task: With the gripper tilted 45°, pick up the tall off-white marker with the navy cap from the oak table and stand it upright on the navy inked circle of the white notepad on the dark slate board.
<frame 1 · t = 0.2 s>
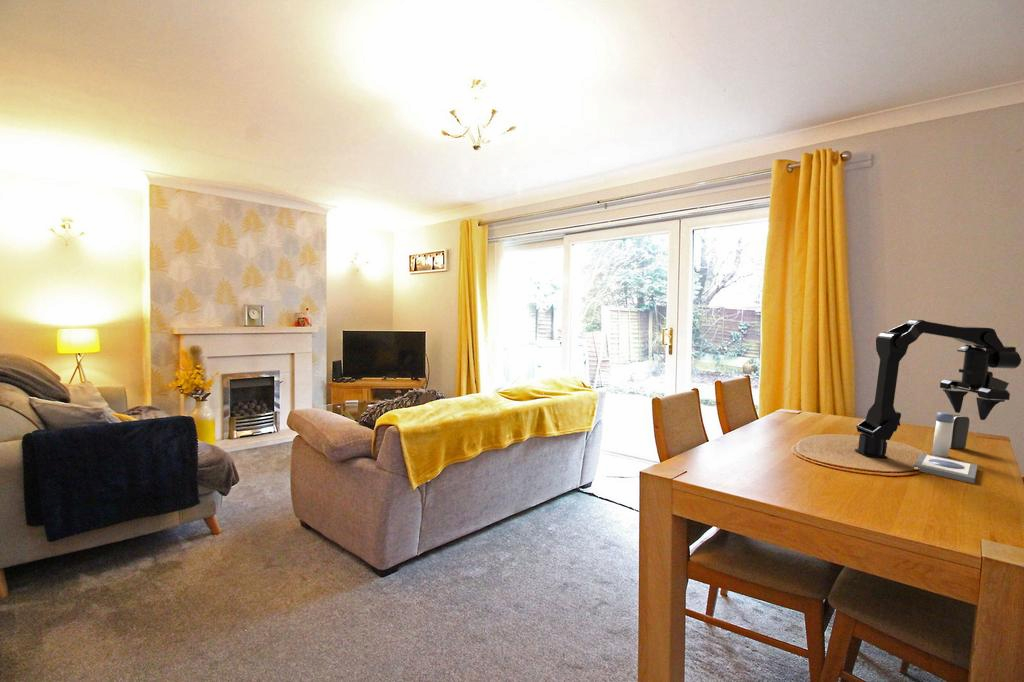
hand: (969, 416, 151), 15 cm above the table, tool pointing down, fingers open, 9 cm apart
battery: (952, 447, 169), on the table
marker: (939, 455, 158), on the table
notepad: (945, 469, 143), on the table
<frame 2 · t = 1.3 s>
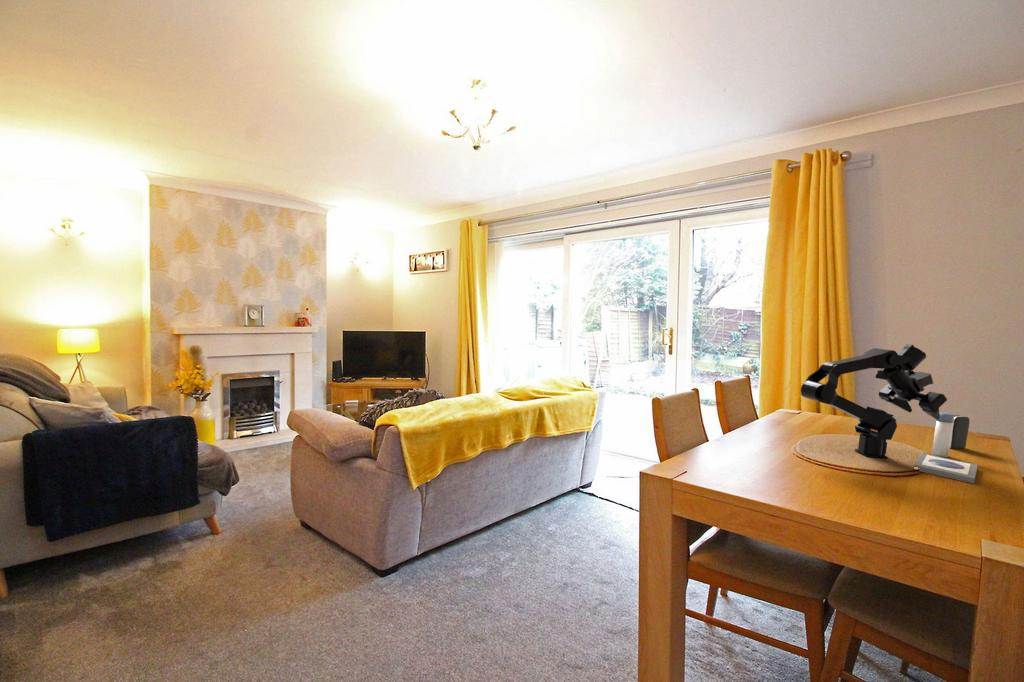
hand: (924, 415, 156), 13 cm above the table, tool tilted 45°, fingers open, 9 cm apart
nothing on the table moved.
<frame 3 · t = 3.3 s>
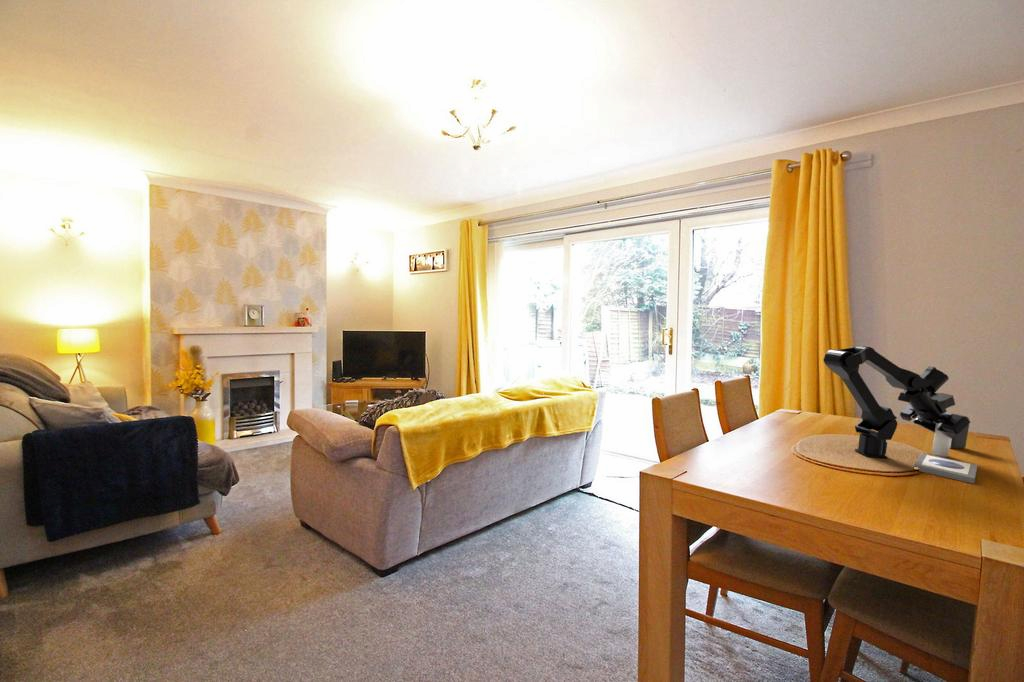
hand: (946, 435, 158), 7 cm above the table, tool tilted 45°, fingers closed on marker, 4 cm apart
marker: (939, 455, 158), on the table, touching gripper
everything else where it was.
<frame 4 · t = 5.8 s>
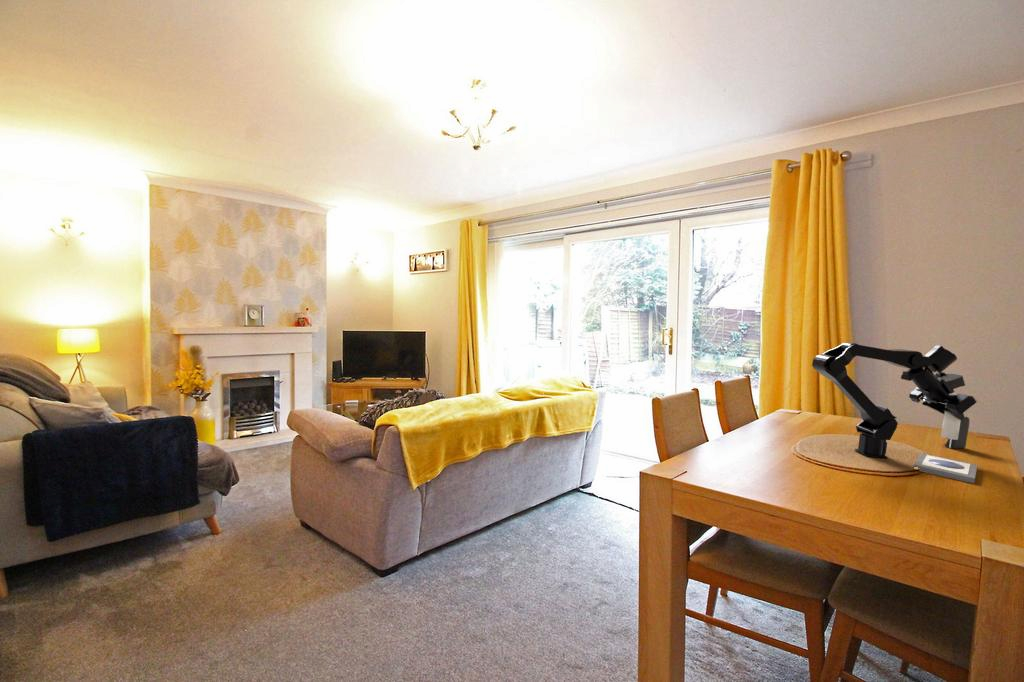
hand: (956, 417, 153), 14 cm above the table, tool tilted 45°, fingers closed on marker, 4 cm apart
marker: (949, 437, 154), point 7 cm above the table, touching gripper
everything else where it was.
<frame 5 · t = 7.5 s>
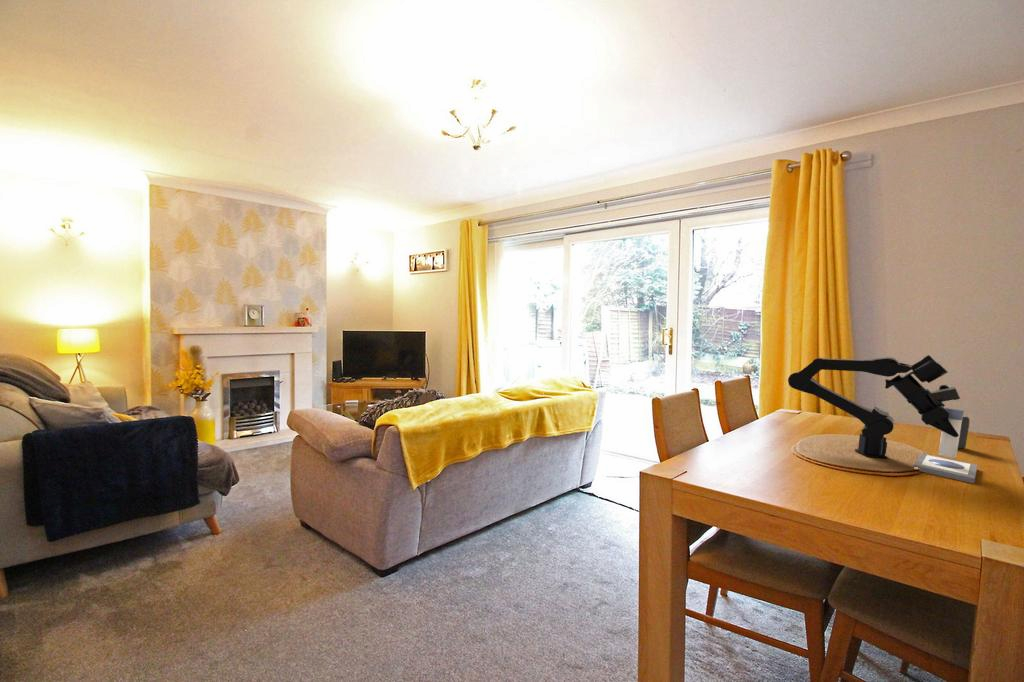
hand: (956, 435, 141), 11 cm above the table, tool tilted 45°, fingers closed on marker, 4 cm apart
marker: (947, 455, 143), point 4 cm above the table, touching gripper
everything else where it was.
when the fingers open (9 cm above the table, at t = 8.6 s): marker stays where it is, resting on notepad.
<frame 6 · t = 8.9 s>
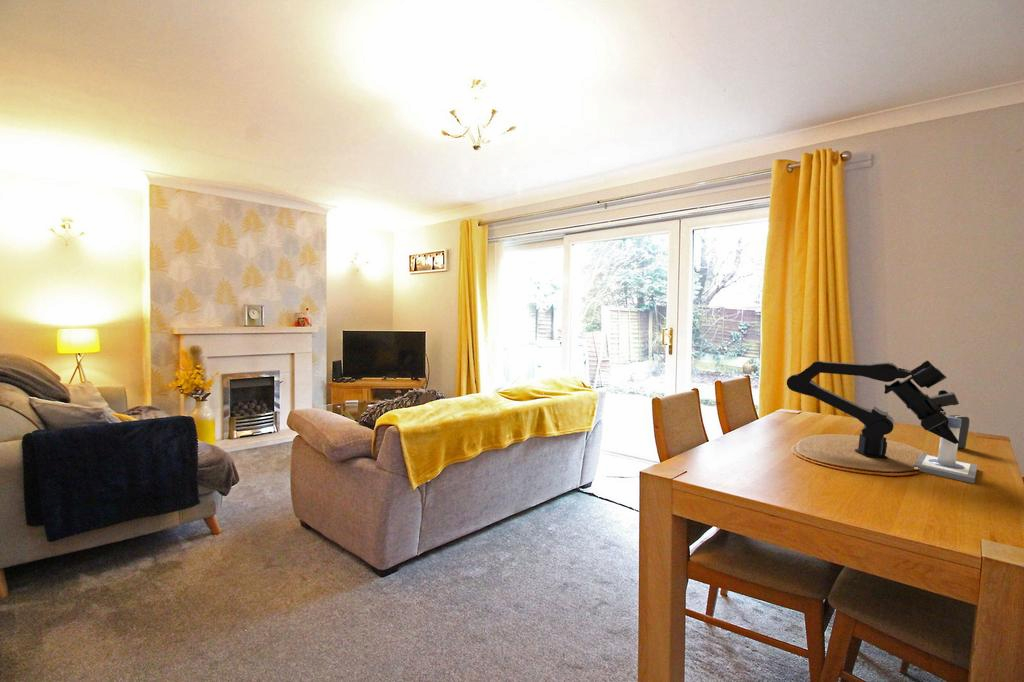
hand: (956, 440, 141), 9 cm above the table, tool tilted 45°, fingers open, 8 cm apart
marker: (946, 463, 143), point 2 cm above the table, touching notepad
everything else where it was.
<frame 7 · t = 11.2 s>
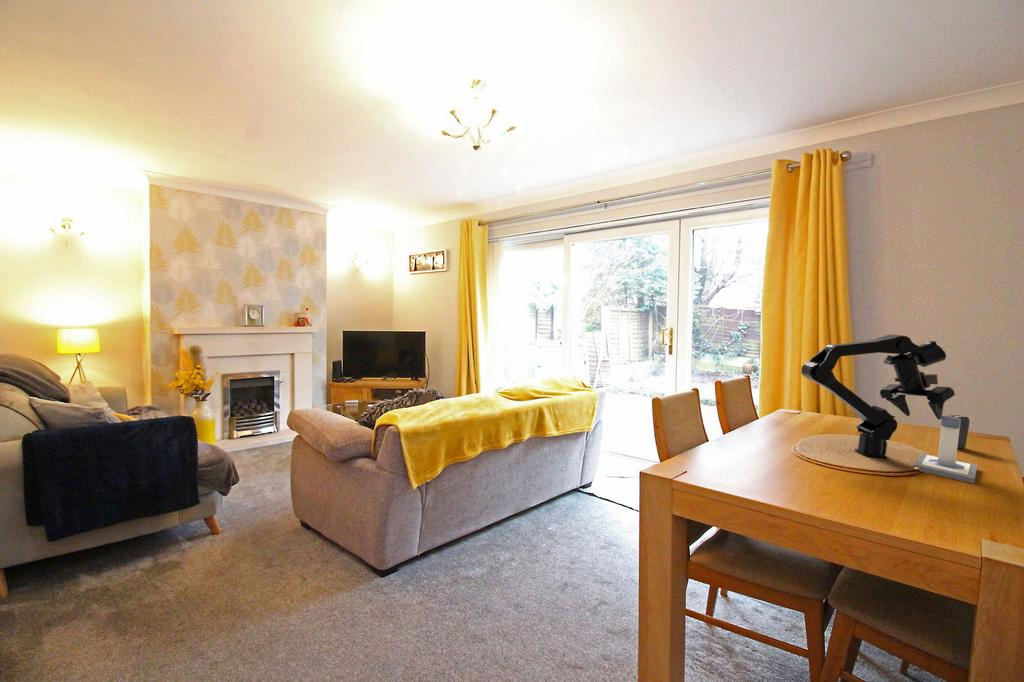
hand: (923, 417, 152), 13 cm above the table, tool tilted 25°, fingers open, 9 cm apart
nothing on the table moved.
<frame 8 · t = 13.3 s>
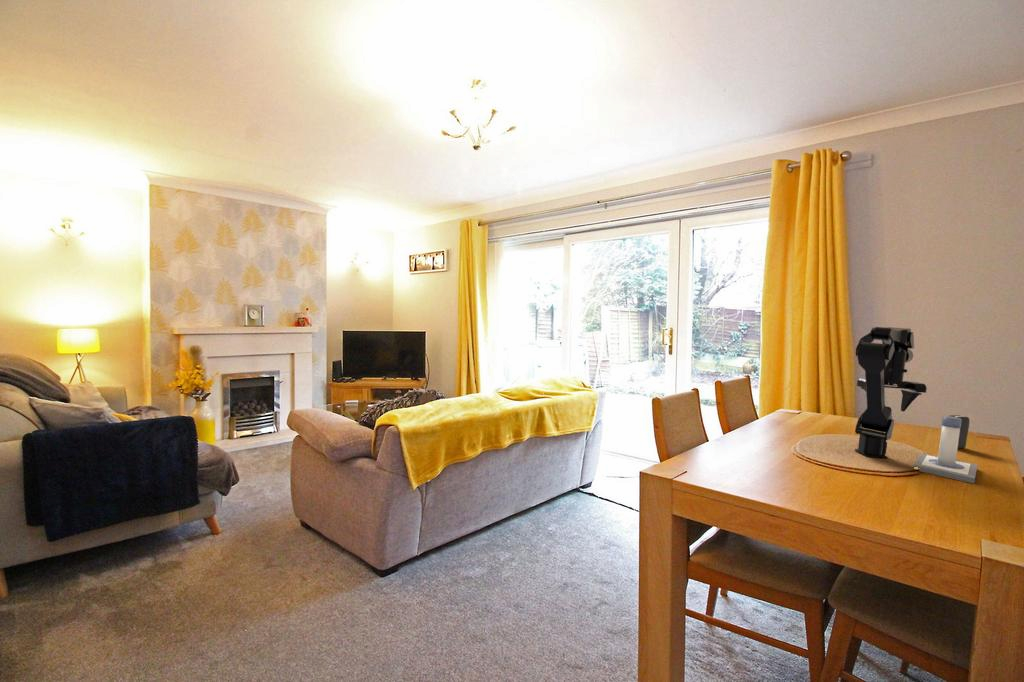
hand: (887, 410, 162), 13 cm above the table, tool pointing down, fingers open, 9 cm apart
nothing on the table moved.
at the end: marker inside the target area on the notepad (0.0 cm from its centre), point 1.8 cm above the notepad's base; marker tilted 1°; the gripper is holding nothing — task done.
